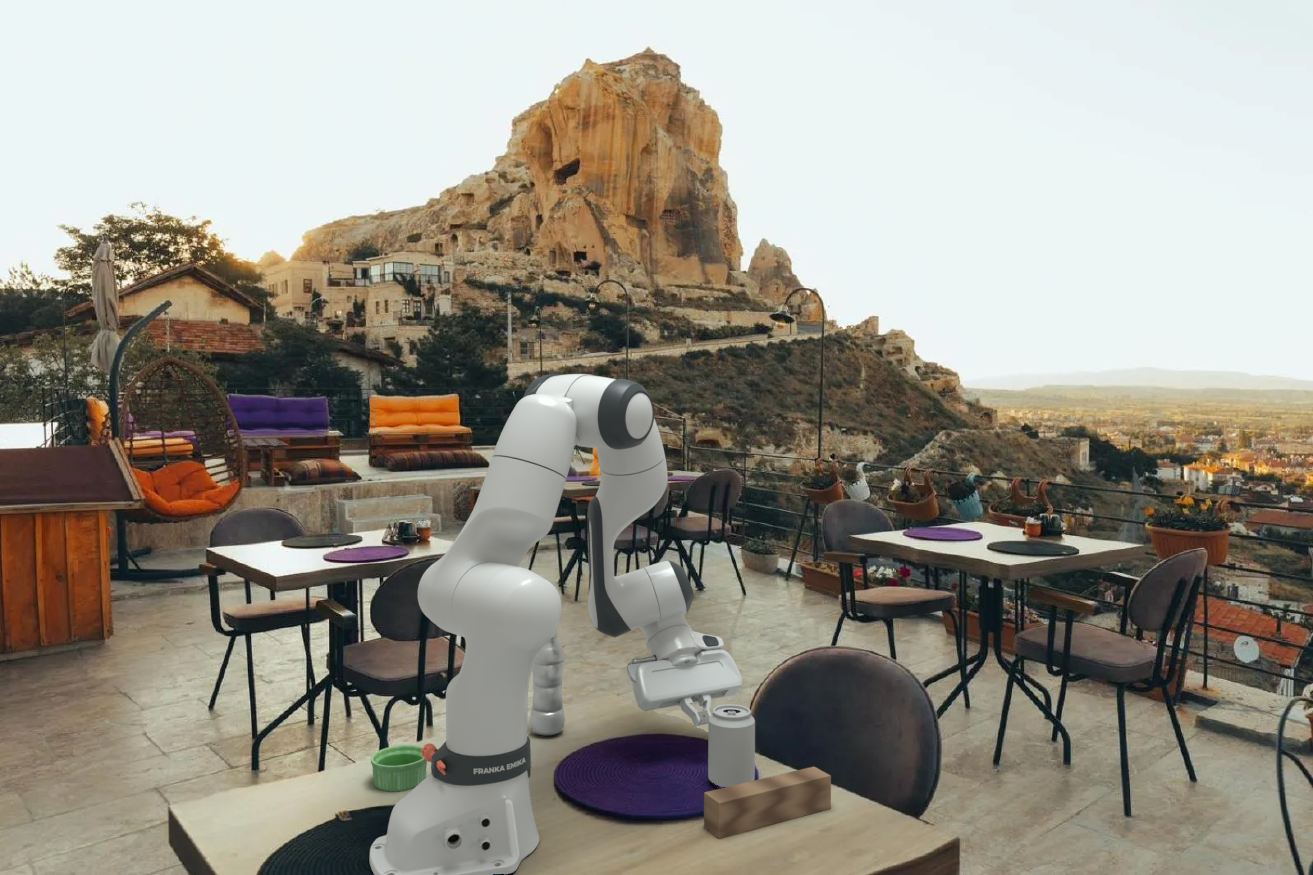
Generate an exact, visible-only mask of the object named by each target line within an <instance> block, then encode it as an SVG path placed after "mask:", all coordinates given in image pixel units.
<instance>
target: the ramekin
mask: <svg viewBox="0 0 1313 875" xmlns="http://www.w3.org/2000/svg"><path fill="white" fill-rule="evenodd" d="M422 748H424V746H419V745H414V744H412V745H411V744H405V745H404V744H400V745H393V746H389V747H385V748H382V749H380V750H378V751H376V752H375V753H373V754H372V755H371V756H370V764H371V766H372V776H373V777H372V778H373V784H374V786H375V787H376V788H377V789H378V790H381V791H385V792H402V791H407V790H412V789H414V788H415V787H416V786H417V785H418V784H419V783H421V782H422V781H423V780H424V779H425V778H426V777H427V767H428V766H427V765H428V764H427V762H428V761H426V760H425V758H424V757H423V756H422V753H421V751H422Z"/></svg>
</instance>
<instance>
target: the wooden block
mask: <svg viewBox="0 0 1313 875" xmlns="http://www.w3.org/2000/svg"><path fill="white" fill-rule="evenodd" d="M831 783H832V775H831V774H829V773H827V772H825V771H823V770H821V769H820V768H818V767H816V766H811V767H806V768H801V769H799V770H793V771H788V772H785V773H781V774H776V775H772V776H768V777H765V778H764V777H763V778H760V779H754V781H751V782H746V783H742V784H738V785H734V786H729V787H725V788H721V789H720V788H717V789H713V790H709V791H705V792H704V793H703V828H705V829H706V830H708V831H709V832H710V833H712V834H713V836H715V837H717V838H718V839H719V840H721V839H723V838H726V837H731V836H734V835H738V834H742V833H745V832H748V831H752V830H757V829H760V828H763V827H767V826H771V825H774V824H779V823H783V822H786V821H789V820H794V819H797V818H801V817H805V816H807V815H812V814H816V813H820V812H823V811H827V810H831V808H832V807H831V806H832V795H831V794H832V784H831Z"/></svg>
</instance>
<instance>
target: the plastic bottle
mask: <svg viewBox="0 0 1313 875" xmlns="http://www.w3.org/2000/svg"><path fill="white" fill-rule="evenodd" d="M558 637H559V634H558V630H557V631H556V633H555V634H554V636H553V637H552V638H551V639H550V641H549V642H548V643H546V644H545V645H544V646H543V647H542V648H541V649H540V651H539V652H538V654H537V657H536V659H535V662H534V665H533V668H532V672H531V674H532V685H533V686H532V688H533V689H532V691H533V692H532V704H531V709H530V715H529V726H530V729H531V730H532V732H533V733H534V734H535V735H540V736H554V735H557V734H559V733H561V731H562V730H563V729H564V726H565V722H566V720H565V711H564V707H563V690H562V689H563V688H562V683H563V673H564V666H565V660H566V659H565V657H566V654H565V651H564V648H563V647H562V645H561V644H560V643H559V641H558V640H557V639H558Z"/></svg>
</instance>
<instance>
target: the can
mask: <svg viewBox="0 0 1313 875" xmlns="http://www.w3.org/2000/svg"><path fill="white" fill-rule="evenodd" d="M707 725H708V727H707V728H708V729H707V730H708V732H707V733H708V739H707V740H708V742H707V743H708V745H707V746H708V750H707V753H708V754H707V756H708V757H707V763H708V764H707V766H708V767H707V772H708V773H707V774H708V775H707V777H708V780H709V781H710V782H711V783H712V784H713V783H714V784H715V785H718V786H720V787H729V786H734V785H738V784H742V783H746V782H751V781H755V780H756V778H755V776H756V773H755V772H756V770H755V769H756V767H755V766H756V762H755V761H756V720H755V718H754V716H752V711H751V709H750V708H749V707H747V706H745V705H740V704H733V703H732V704H731V703H730V704H721V705H716V706H715V707H714V708H712V713H711V716H710V717H709V719H708V724H707ZM714 784H713V785H714ZM715 785H714V786H715Z"/></svg>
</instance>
